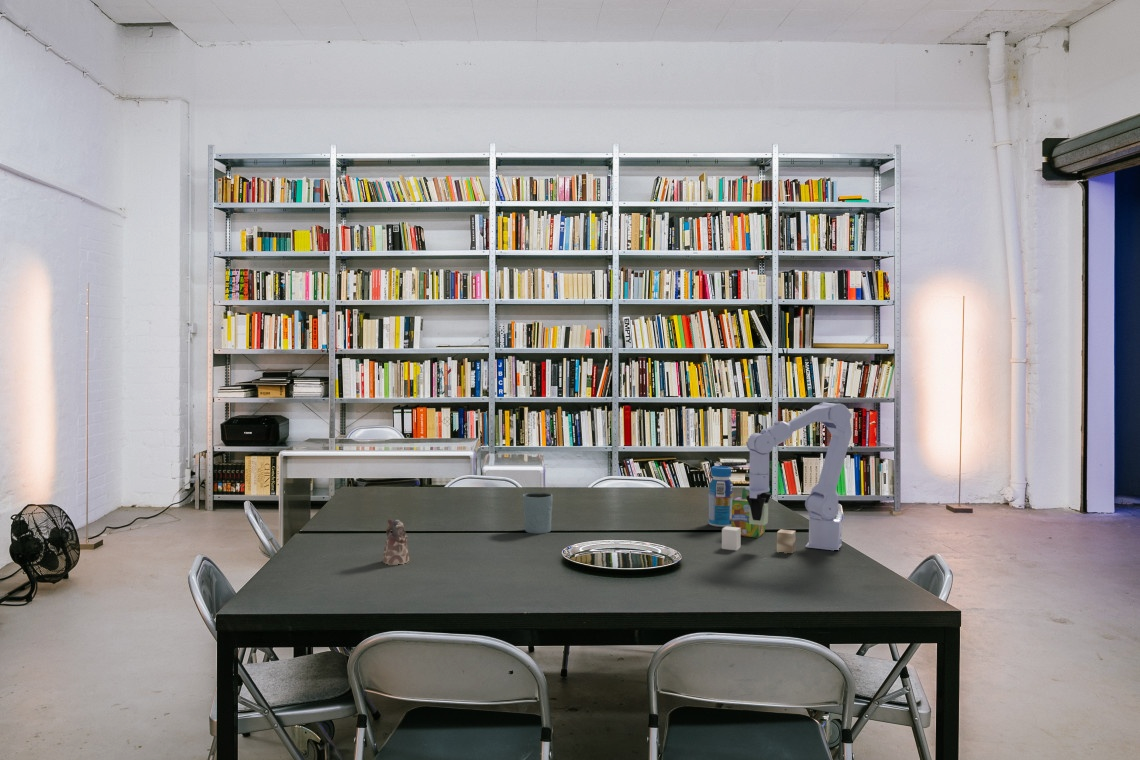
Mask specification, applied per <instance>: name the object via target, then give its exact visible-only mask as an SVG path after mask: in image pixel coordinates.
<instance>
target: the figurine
mask: <svg viewBox="0 0 1140 760" xmlns="http://www.w3.org/2000/svg"><path fill="white" fill-rule="evenodd" d="M387 523H388V524H389V525H388V526H387V528H386V540H385V544H384V547H383V554H382V561H383V564H384V563H385V564H384V565H386V564H388V565H387V566H399V565H398V564H403V565H405V564H404V563H407V562H408V561H409V562H410V554H409V547H408V539H407V538H408V536H409V535H407V532H406V530H405V527H404V525H405V524H404V523H403V522H402V521H401V520H400V519H395V520H394V519H391V518H389V519H387ZM409 562H408V563H409ZM408 563H407V564H408Z"/></svg>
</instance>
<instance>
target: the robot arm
mask: <svg viewBox="0 0 1140 760" xmlns="http://www.w3.org/2000/svg"><path fill="white" fill-rule="evenodd" d="M851 419H852V413H851V411H850V410H849V408H848V407H847V406H846V405H845V404H843V403H830V402H826V401H822V402H820V403H819V404H816V405H813V406H812V407H811V408H809V409H808V410H805V412H803V413H801V414H798V415H797V416H796V417H794V418H793V419H790V420H789V421H787V422H786V421H782V420H780V421H778V420H776V421H774V422H773V425H771V426H769V427H767V428H763V429H760V433H759V432H754V433H752V434H750V436H749V437H748V439H747V441H746V443H745V444H746V447H747V449H748V451H749V482H748V483H749V484H748V485H749V486H745V487H744V488H745V489H746V490H749V491H750V492H749V495H747V496H746V499H747V501H748V503H749V505H750V509H751V513H752V518H753V520H759V521H760V520H761V516H762V509H763V505H764V502H765V503H768V504H769V501H770V499H771V497H772V493H770V490H771V489H770V453H771V452H772V451H773V449H774V447H776V446H778V445H779V444H782V443H783V442H786V441H787V440H789V439H792V436H793V433H794V432H796V431H799V430H800V429H803V428H805V427H806V426H810V425H812V424H813V423H816V422H818V423H821V424H822V425H823V426H825V427H826V429H827V430H828V431H829V433H830V435H831V438H830V440H829V443H828V447H827V449H826V454H825V458H824V461H823V465H822V467H821V471H820V475H819V479H818V482H817V484H816V485H815V486H813V487H812V488H811V490H810V491H811V492H810V493H809V495H808V496H807V497H806V498H805V502H804V506H805V509H806V510H807V512H808V516H809V519H808V542H807V544H806V545H805V548H811V549H820V550H827V551H829V550H830V551H834V550H838V551H839V550H840V549H839V548H841V547H842V546H843V544H842V540H843V537H842V535H843V534H842V532H843V531H842V530H843V527H842V525H843V524H842V523H843V522H842V520H841V519H837V518H835V517H836V516H837V515H838V514H839V509H840V508H839V507H840V506H839V499H840V495H839V493H838V491H837V487H838V483H839V480H840V476H841V473H842V470H843V465H844V462H845V458H846V456H847V452H848V448H849V446H850V442H851V438H852V426H851V425H852V423H851Z"/></svg>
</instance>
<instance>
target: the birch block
mask: <svg viewBox="0 0 1140 760" xmlns="http://www.w3.org/2000/svg"><path fill="white" fill-rule="evenodd" d="M796 532H797V531H796V530H792V529H791V530H790V529H782V528H781V529H779V530H778V531H777V532H776V553H779V552H784V553H783V554H787V553H793V552H794V551H795V552H796V540H797V539H796V534H797V533H796ZM795 552H794V553H795ZM794 553H793V554H794Z"/></svg>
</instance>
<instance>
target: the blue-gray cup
mask: <svg viewBox="0 0 1140 760" xmlns="http://www.w3.org/2000/svg"><path fill="white" fill-rule="evenodd" d="M553 502H554V501H553V494H552V493H550V492H527V493H523V494H522V503H523V515H524V517H523V518H524V530H525V532H526V533H529V534H546V533H550V532H551V531H552V513H553Z"/></svg>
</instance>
